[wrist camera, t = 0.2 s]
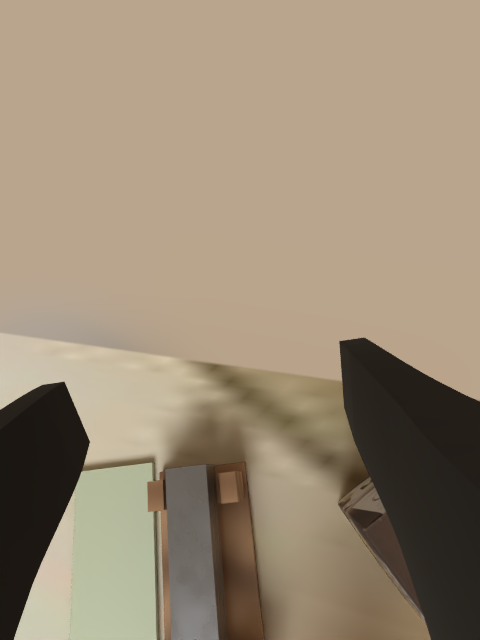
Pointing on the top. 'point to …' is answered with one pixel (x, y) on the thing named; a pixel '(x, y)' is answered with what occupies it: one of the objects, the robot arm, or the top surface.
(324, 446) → the top surface
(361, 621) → the top surface
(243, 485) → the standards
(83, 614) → the mat
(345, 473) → the top surface
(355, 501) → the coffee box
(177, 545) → the rail
